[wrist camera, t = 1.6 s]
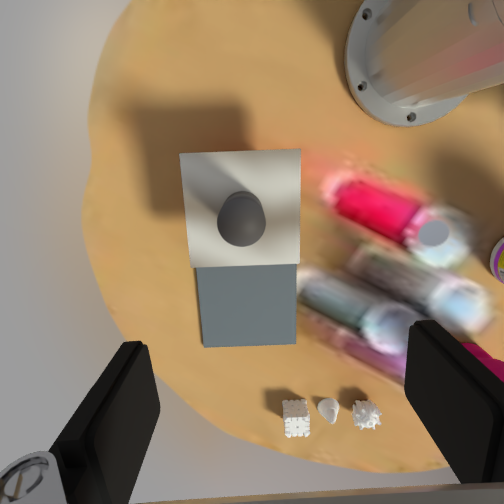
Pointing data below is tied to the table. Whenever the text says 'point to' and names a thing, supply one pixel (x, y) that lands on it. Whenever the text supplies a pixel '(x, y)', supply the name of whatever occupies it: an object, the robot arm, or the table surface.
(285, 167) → the lid
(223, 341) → the mat
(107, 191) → the table surface
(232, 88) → the table surface
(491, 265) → the supplement bottle
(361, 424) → the game pieces
